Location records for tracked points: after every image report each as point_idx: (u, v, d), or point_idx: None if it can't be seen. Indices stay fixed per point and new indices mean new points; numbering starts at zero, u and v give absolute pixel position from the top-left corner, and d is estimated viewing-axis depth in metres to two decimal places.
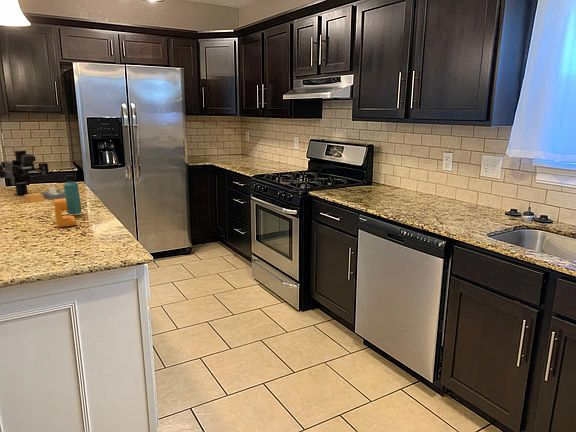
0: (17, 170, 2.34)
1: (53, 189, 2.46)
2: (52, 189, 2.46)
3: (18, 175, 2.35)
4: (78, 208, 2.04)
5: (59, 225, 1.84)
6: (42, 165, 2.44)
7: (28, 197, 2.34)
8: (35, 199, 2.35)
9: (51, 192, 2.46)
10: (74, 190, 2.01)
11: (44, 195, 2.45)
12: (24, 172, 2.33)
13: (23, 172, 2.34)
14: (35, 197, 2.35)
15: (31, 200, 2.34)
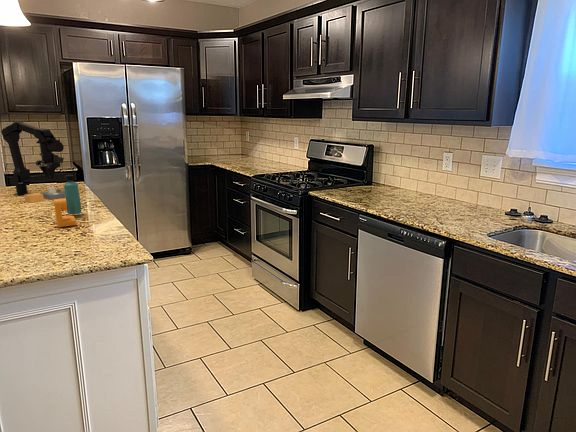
0: (53, 168, 2.41)
1: (53, 189, 2.46)
2: (52, 189, 2.46)
3: (48, 168, 2.39)
4: (78, 208, 2.04)
5: (59, 225, 1.84)
6: None
7: (28, 197, 2.34)
8: (35, 199, 2.35)
9: (51, 192, 2.46)
10: (74, 190, 2.01)
11: (44, 195, 2.45)
12: (51, 175, 2.43)
13: (51, 174, 2.42)
14: (35, 197, 2.35)
15: (31, 200, 2.34)
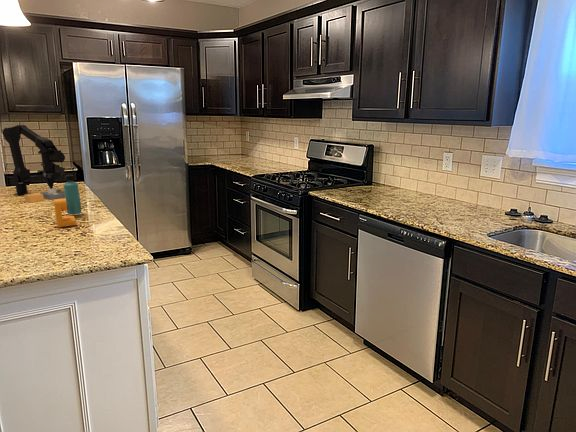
0: (53, 177, 2.44)
1: (53, 190, 2.46)
2: (52, 189, 2.46)
3: (47, 178, 2.42)
4: (78, 208, 2.04)
5: (59, 225, 1.84)
6: None
7: (28, 197, 2.34)
8: (35, 199, 2.35)
9: (51, 192, 2.46)
10: (74, 190, 2.01)
11: (44, 195, 2.45)
12: (51, 185, 2.46)
13: (51, 183, 2.45)
14: (35, 197, 2.35)
15: (31, 200, 2.34)
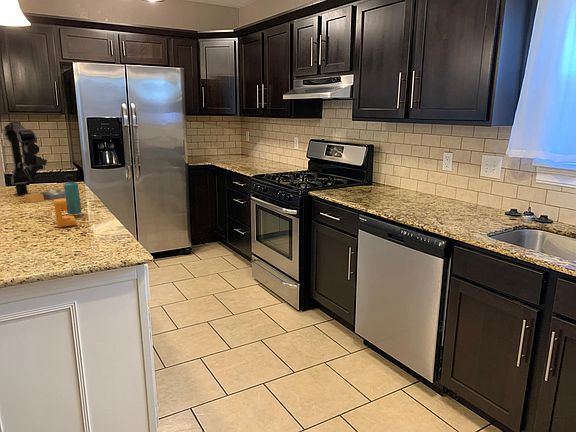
0: (34, 170, 2.33)
1: (53, 192, 2.47)
2: (52, 192, 2.46)
3: (29, 171, 2.30)
4: (78, 208, 2.04)
5: (59, 225, 1.84)
6: None
7: (28, 197, 2.34)
8: (35, 199, 2.35)
9: None
10: (74, 190, 2.01)
11: (44, 195, 2.45)
12: (32, 178, 2.34)
13: (32, 176, 2.34)
14: (35, 197, 2.35)
15: (31, 200, 2.34)
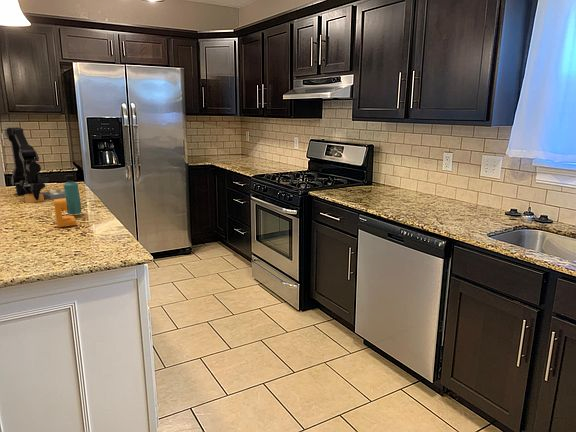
0: (38, 189, 2.33)
1: (53, 192, 2.47)
2: (52, 192, 2.46)
3: (33, 189, 2.31)
4: (78, 208, 2.04)
5: (59, 225, 1.84)
6: None
7: (28, 197, 2.34)
8: (35, 199, 2.35)
9: None
10: (74, 190, 2.01)
11: (44, 195, 2.45)
12: (36, 196, 2.34)
13: (36, 195, 2.34)
14: None
15: (31, 200, 2.34)
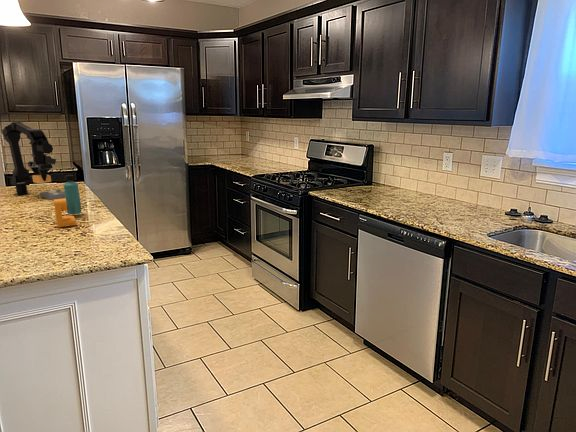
0: (46, 169, 2.36)
1: (53, 192, 2.47)
2: (52, 192, 2.46)
3: (40, 170, 2.34)
4: (78, 208, 2.04)
5: (59, 225, 1.84)
6: None
7: (36, 178, 2.37)
8: None
9: None
10: (74, 190, 2.01)
11: (44, 195, 2.45)
12: (44, 177, 2.38)
13: (44, 176, 2.37)
14: None
15: (39, 181, 2.37)
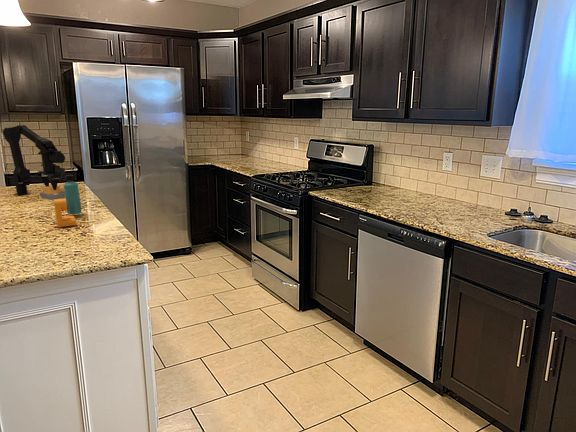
0: (56, 179, 2.42)
1: None
2: None
3: (51, 180, 2.40)
4: (78, 208, 2.04)
5: (59, 225, 1.84)
6: None
7: (46, 189, 2.43)
8: (53, 190, 2.45)
9: None
10: (74, 190, 2.01)
11: (44, 195, 2.45)
12: (54, 186, 2.43)
13: (54, 185, 2.43)
14: (52, 189, 2.44)
15: (49, 192, 2.43)
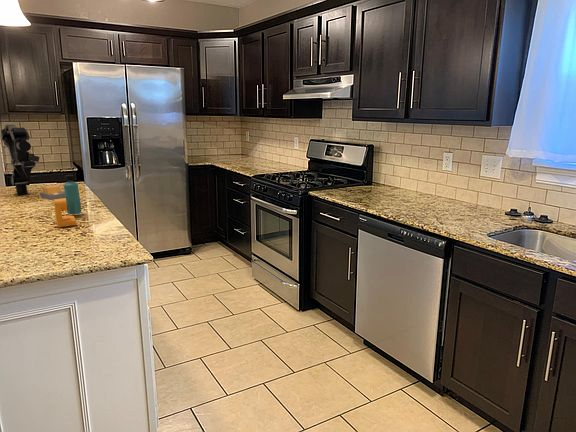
0: None
1: None
2: None
3: (24, 168, 2.35)
4: (78, 208, 2.04)
5: (59, 225, 1.84)
6: None
7: (46, 189, 2.43)
8: (53, 190, 2.45)
9: None
10: (74, 190, 2.01)
11: (44, 195, 2.45)
12: (28, 175, 2.39)
13: (28, 173, 2.38)
14: (52, 189, 2.44)
15: (49, 192, 2.43)
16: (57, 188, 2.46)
